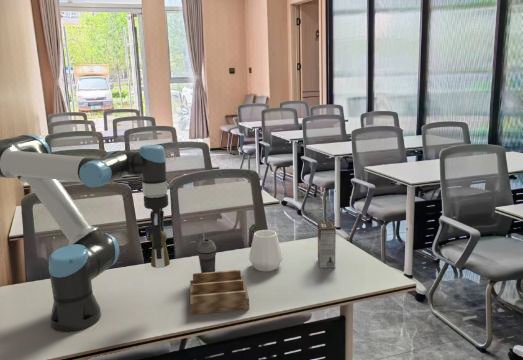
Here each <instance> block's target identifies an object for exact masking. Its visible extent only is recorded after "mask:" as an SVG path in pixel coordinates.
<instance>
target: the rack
mask: <svg viewBox="0 0 523 360" xmlns="http://www.w3.org/2000/svg"><path fill="white" fill-rule="evenodd" d="M241 273H242V271H241V269H233V270H221V271H220V270H219V271H215V272H207V273H201V272H199V273H192V280H189V281H190V285H189V286H190V294H189V295H190V296H189V297H190V298H189V301H190V303H189V305H190V315H198V314H199V315H200V314H201V315H202V314H209V313H210V314H211V313H212V314H213V313H220V312H231V311H241V310H250V298H249V293H248V290H247V285H246V281H245V277H244V275H241Z"/></svg>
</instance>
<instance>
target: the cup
mask: <svg viewBox="0 0 523 360" xmlns="http://www.w3.org/2000/svg"><path fill="white" fill-rule="evenodd" d="M279 241H280V240H279V238H278V234H277V232H276V231H274V230H272V229H262V230H261V229H260V230H256V231H255V232H254V233H253V237H252V241H251V242H252V243H251V246H250V247H251V248H250V251H249V254H248V255H249V257H248V260H249V262H250V263H251V265H252V266H253V268H254V269H255V270H257V271H260V272H271V271H275V270H276V269H278V268H279V266H280V265H281V263H282V261H283V260H284V259H283V258H284V257H283V255H284V254H283V252H282V248H281V245H280V242H279Z"/></svg>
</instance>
